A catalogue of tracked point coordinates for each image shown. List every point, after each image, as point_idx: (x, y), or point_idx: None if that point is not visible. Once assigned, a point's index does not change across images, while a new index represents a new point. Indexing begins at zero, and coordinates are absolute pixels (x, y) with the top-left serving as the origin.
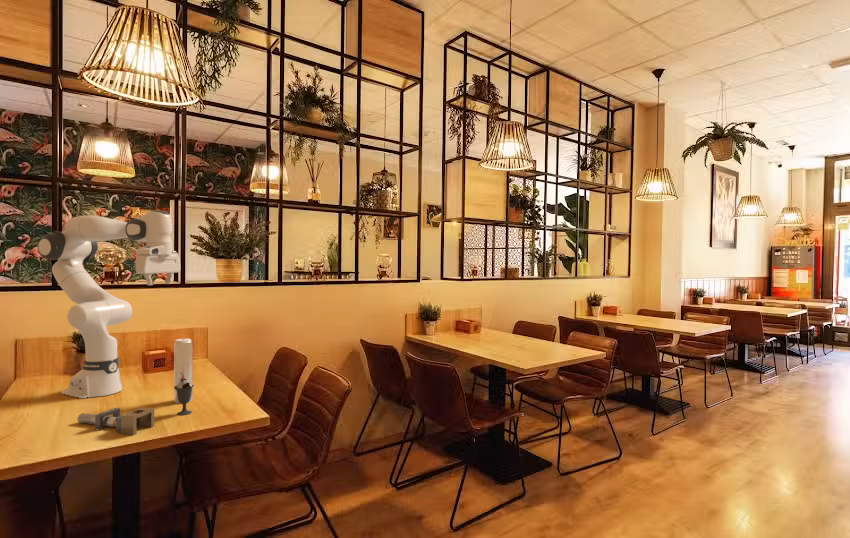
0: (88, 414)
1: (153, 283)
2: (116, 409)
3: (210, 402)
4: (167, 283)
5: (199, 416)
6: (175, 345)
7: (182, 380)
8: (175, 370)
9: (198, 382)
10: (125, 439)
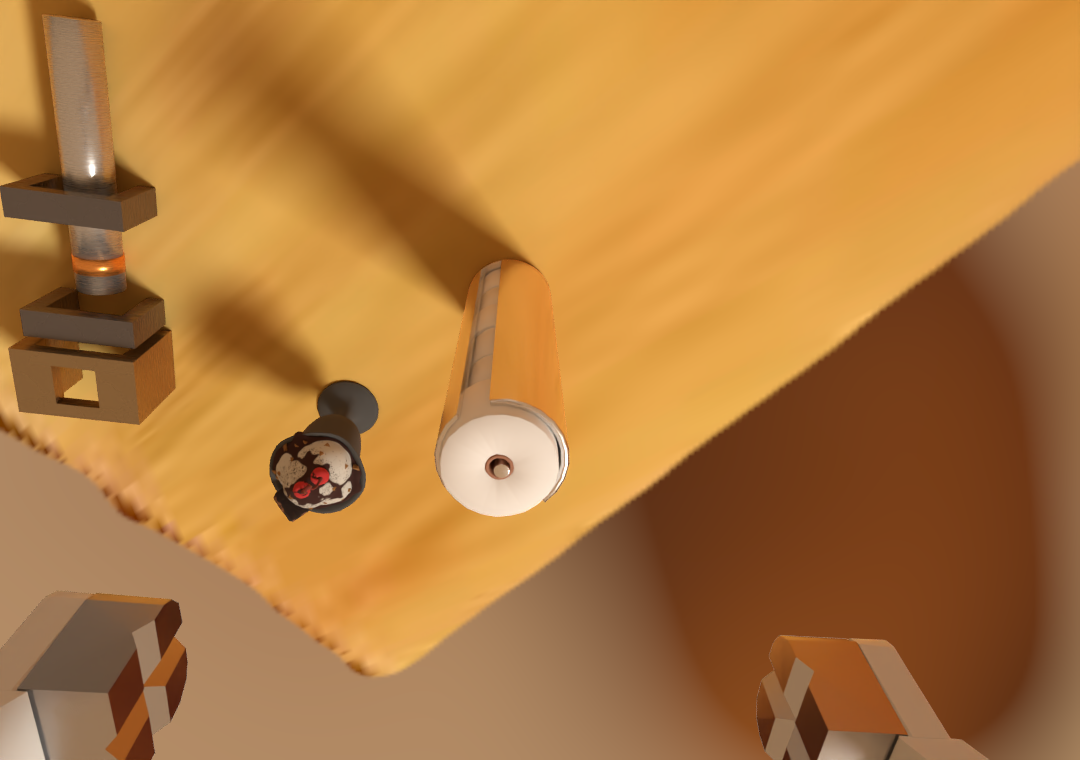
0: (61, 70)
1: (167, 723)
2: (104, 226)
3: None
4: (765, 697)
5: None
6: (442, 424)
7: (289, 495)
8: (458, 346)
9: (867, 165)
10: None
